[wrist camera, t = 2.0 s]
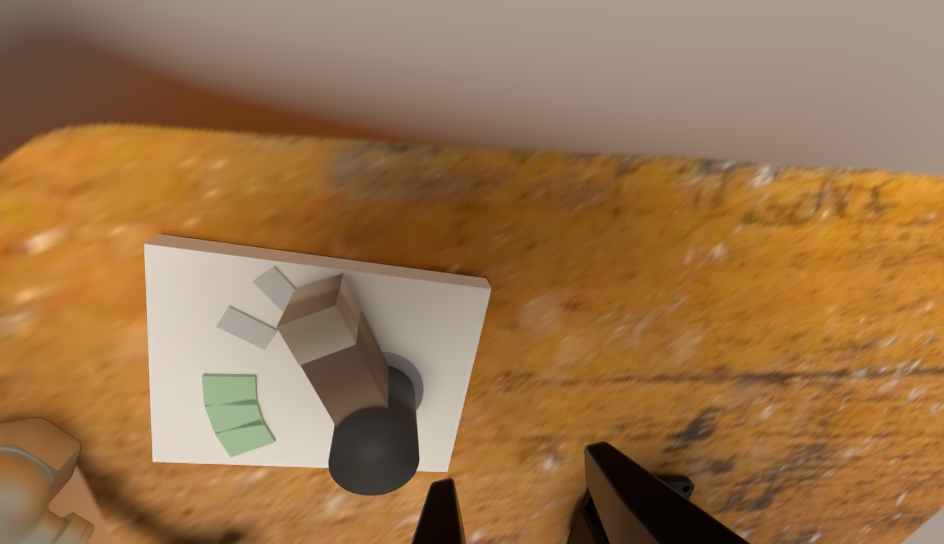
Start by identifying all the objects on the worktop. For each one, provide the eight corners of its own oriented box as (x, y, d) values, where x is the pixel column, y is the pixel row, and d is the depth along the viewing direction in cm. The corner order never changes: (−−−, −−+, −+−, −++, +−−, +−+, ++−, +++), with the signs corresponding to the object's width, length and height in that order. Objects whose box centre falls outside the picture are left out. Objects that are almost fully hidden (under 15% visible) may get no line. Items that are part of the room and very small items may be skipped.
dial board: (486, 278, 20) (492, 291, 19) (444, 454, 24) (447, 475, 22) (160, 234, 17) (141, 245, 16) (165, 441, 21) (150, 465, 19)
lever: (425, 410, 20) (431, 476, 17) (357, 435, 20) (351, 507, 17) (358, 267, 17) (350, 312, 14) (279, 296, 17) (251, 348, 14)
